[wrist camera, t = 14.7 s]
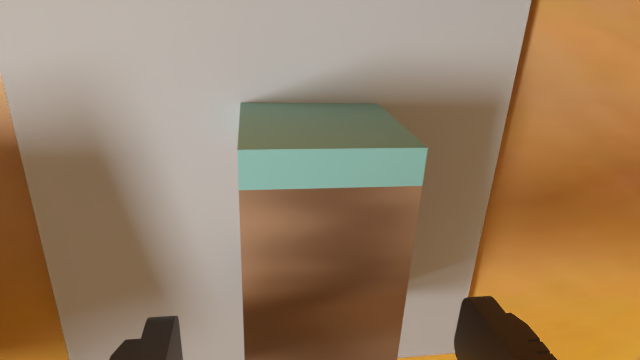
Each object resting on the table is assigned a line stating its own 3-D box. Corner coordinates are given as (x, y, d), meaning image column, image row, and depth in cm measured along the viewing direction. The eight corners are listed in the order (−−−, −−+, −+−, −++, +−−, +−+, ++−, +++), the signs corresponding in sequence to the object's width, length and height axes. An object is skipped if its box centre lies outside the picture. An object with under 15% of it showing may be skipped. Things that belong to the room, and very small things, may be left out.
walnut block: (246, 405, 13) (237, 149, 10) (246, 305, 17) (240, 102, 14) (392, 391, 14) (427, 147, 11) (359, 298, 18) (377, 103, 15)
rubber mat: (80, 373, 18) (75, 385, 17) (-14, -35, 12) (-26, -37, 11) (450, 343, 20) (456, 353, 20) (522, -9, 14) (533, -9, 14)
